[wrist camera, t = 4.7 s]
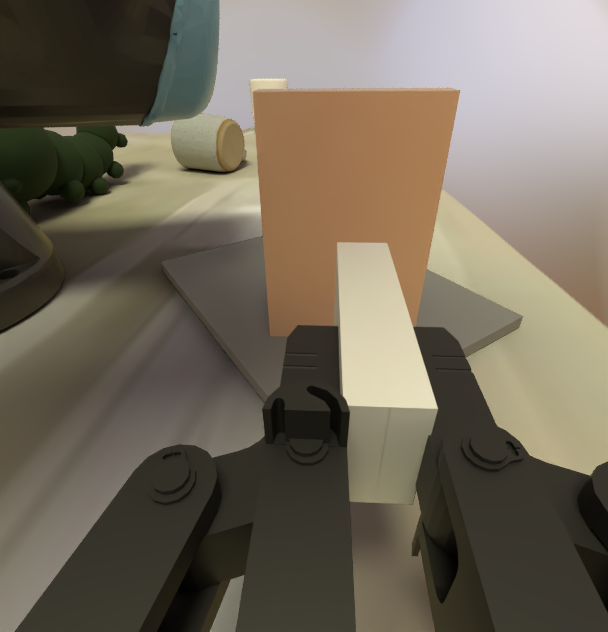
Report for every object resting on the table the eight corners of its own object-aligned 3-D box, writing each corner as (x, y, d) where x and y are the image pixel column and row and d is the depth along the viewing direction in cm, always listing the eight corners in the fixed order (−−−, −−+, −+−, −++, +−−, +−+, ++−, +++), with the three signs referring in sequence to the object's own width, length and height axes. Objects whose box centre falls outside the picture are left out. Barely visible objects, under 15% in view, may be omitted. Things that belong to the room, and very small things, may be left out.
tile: (413, 339, 22) (459, 90, 15) (269, 336, 22) (252, 91, 15) (408, 323, 23) (449, 87, 16) (273, 320, 23) (258, 88, 17)
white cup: (271, 137, 80) (268, 81, 74) (245, 133, 84) (240, 80, 78) (296, 132, 85) (295, 79, 79) (270, 129, 89) (268, 78, 83)
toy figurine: (97, 187, 56) (-96, 237, 35) (59, 26, 47) (-233, -38, 26) (155, 191, 54) (-13, 247, 33) (127, 24, 45) (-130, -48, 24)
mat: (162, 270, 30) (160, 261, 30) (326, 228, 38) (326, 220, 37) (300, 449, 17) (300, 437, 16) (518, 327, 24) (523, 316, 23)
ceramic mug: (223, 178, 53) (216, 116, 49) (175, 173, 56) (164, 113, 52) (259, 163, 62) (256, 108, 57) (216, 159, 64) (209, 106, 60)
